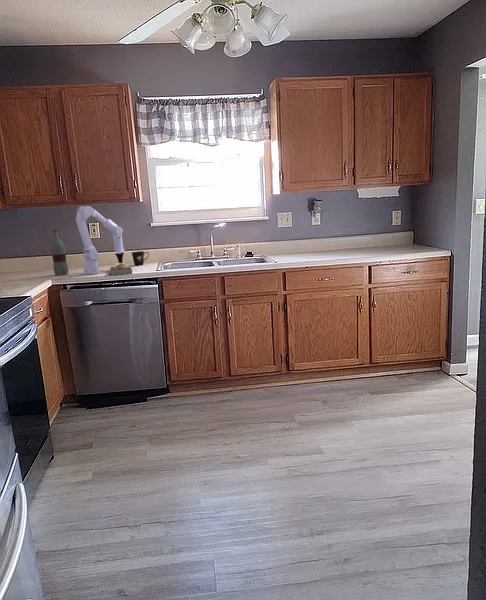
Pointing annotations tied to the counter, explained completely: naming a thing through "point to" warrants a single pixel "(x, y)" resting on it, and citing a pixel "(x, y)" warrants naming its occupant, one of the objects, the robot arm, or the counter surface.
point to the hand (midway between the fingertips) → (120, 263)
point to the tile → (120, 265)
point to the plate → (120, 268)
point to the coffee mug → (139, 257)
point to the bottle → (59, 256)
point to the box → (120, 272)
